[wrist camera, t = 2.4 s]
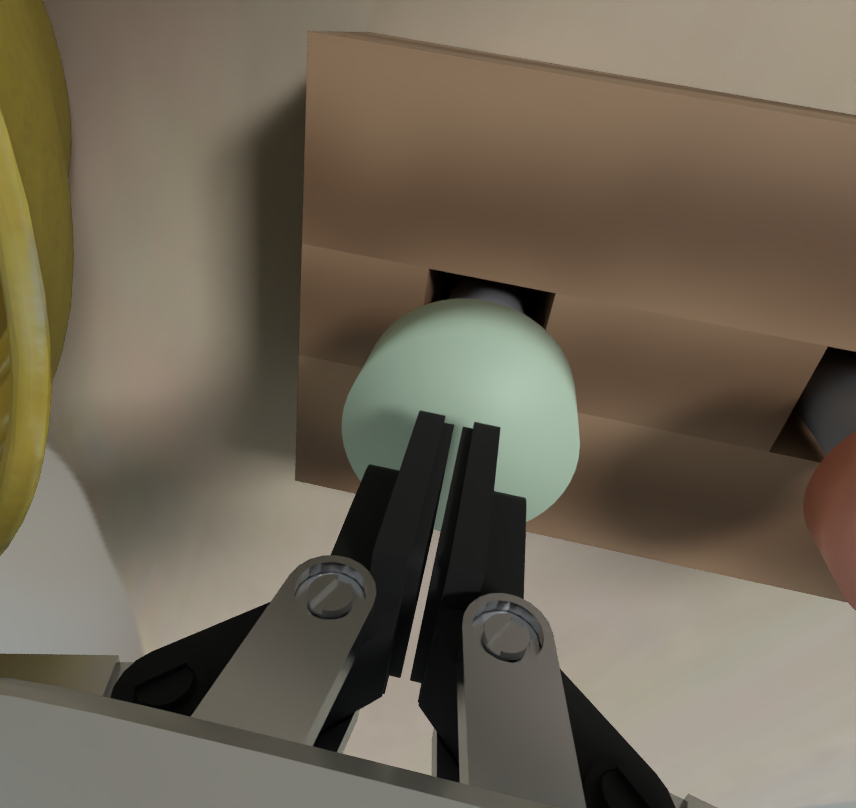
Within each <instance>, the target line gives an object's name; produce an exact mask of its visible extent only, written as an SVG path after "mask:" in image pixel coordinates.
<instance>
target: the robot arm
mask: <svg viewBox="0 0 856 808" xmlns="http://www.w3.org/2000/svg"><path fill="white" fill-rule="evenodd" d="M453 429H454V424H449V423H445V415H440V414H436V413H431V412H426V411H421V410H420V411H419V413H418V416H417V419H416V422H415V425H414V428H413V431H412V434H411V437H410V440H409V443H408V446H407V449H406V452H405V455H404V458H403V461H402V464H401V467H400V470H395V469H390V468H385V467H381V466H376V465H371V464H369V465H368V466H367V469H366V471H365V473H364V475H363V478H362V480H361V483H360V485H359V488H358V490H357V492H356V495H355V497H354V500H353V502H352V505H351V507H350V509H349V512H348V514H347V517H346V519H345V522H344V524H343V527H342V529H341V531H340V534H339V536H338V539H337V541H336V544H335V546H334V548H333V551H332V553H331V555H326V556H320V557H316V558H312V559H309V560H307V561H306V562H304V563H302V564H300V565H299V566H298V567H297V568H296V569H295V570H294V571H293V572H292V573H291V574H290V575H289V576H288V578H287V579H286V581H285V582H284V584H283V585H282V586H281V588H280V589H279V591H278V592H277V594H276V595H275V596H274V598H273V599H272V601H271V602H269V603H267V604H264V605H262V606H260V607H257V608H255V609H252V610H250V611H248V612H245V613H243V614H241V615H238V616H236V617H233V618H231V619H229V620H226V621H224V622H221V623H219V624H217V625H214V626H212V627H209V628H207V629H205V630H202V631H200V632H198V633H195V634H193V635H190V636H188V637H186V638H183V639H181V640H178V641H176V642H174V643H171V644H169V645H167V646H164V647H162V648H159V649H157V650H155V651H152V652H150V653H148V654H147V655H145V656H143V657H141V658H140V659H138V660H136V661H135V662H120V660H119V656H118V655H115V656H114V655H53V654H49V655H48V654H0V808H717V807H715V806H712V805H710V804H708V803H706V802H704V801H702V800H700V799H698V798H696V797H694V796H692V795H690V794H688V795H687V796H686V797H685V799H681V798H679V797H677V796H675V795H673V794H671V793H669V791H668V789H667V788H666V787H665V785H664V784H663V782H662V781H661V780H660V778H659V777H658V776H657V774H656V773H655V772H654V771H653V770H652V769H651V768H650V767H649V765H648V764H647V763H646V762H645V761H644V760H643V759H642V758H641V757H640V756H639V755H638V753H637V752H636V751H635V750H634V749H633V748H632V747H631V746H630V745H629V744H628V742H627V741H626V740H625V739H624V738H623V737H622V736H621V735H620V734H619V733H618V732H617V730H616V729H615V728H614V727H613V726H612V725H611V724H610V723H609V722H608V721H607V720H606V718H605V717H604V716H603V715H602V714H601V713H600V712H599V711H598V710H597V709H596V707H595V706H594V705H593V704H592V703H591V702H590V701H589V700H588V699H587V698H586V697H585V695H584V694H583V693H582V692H581V691H580V690H579V689H578V688H577V687H576V686H575V685H574V683H573V682H572V681H571V680H570V679H569V678H568V677H567V676H566V675H565V674H564V673H563V671H562V670H561V669H560V667H559V662H558V656H557V651H556V646H555V641H554V635H553V632H552V630H551V627H550V624H549V622H548V621H547V619H546V618H545V617H544V615H543V614H542V612H541V611H540V610H538V609H537V608H536V607H535V606H533V605H532V604H531V603H530V602H528V601H526V600H524V568H525V538H526V507H527V503H526V498H524V497H519V496H515V495H510V494H506V493H501V492H496V491H494V486H495V476H496V467H497V458H498V448H499V439H500V429H501V428H500V427H498V426H493V425H488V424H483V423H479V422H474V425H473V428H468V427H463V428H462V432H461V437H460V442H459V447H458V451H457V456H456V461H455V466H454V470H453V475H452V480H451V485H450V490H449V494H448V499H447V504H446V509H445V513H444V518H443V523H442V528H441V533H440V537H439V542H438V547H437V552H436V557H435V562H434V566H433V571H432V576H431V581H430V586H429V591H428V595H427V600H426V605H425V610H424V615H423V620H422V624H421V629H420V634H419V639H418V644H417V649H416V654H415V658H414V663H413V668H412V673H411V678H410V680H411V681H415V682H419V683H421V688H420V694H419V699H418V702H419V707H420V708H421V710H422V711H423V712H424V714H425V715H426V717H427V718H428V720H429V721H430V723H431V724H432V725H433V727H434V730H433V736H432V776H430V775H426V774H422V773H418V772H414V771H410V770H406V769H402V768H398V767H394V766H390V765H386V764H382V763H378V762H374V761H370V760H365V759H361V758H357V757H353V756H349V755H345V754H342V753H343V751H344V749H345V747H346V744H347V742H348V740H349V738H350V735H351V733H352V731H353V729H354V726H355V724H356V722H357V719H358V715H359V711H360V709H361V708H363V707H364V706H366V705H368V704H370V703H371V702H373V701H375V700H377V699H378V698H380V697H382V694H385V690H386V686H387V682H388V678H389V675H390V676H394V677H398V678H400V677H401V673H402V669H403V664H404V660H405V655H406V651H407V646H408V642H409V637H410V633H411V628H412V624H413V619H414V615H415V610H416V606H417V601H418V597H419V592H420V588H421V583H422V579H423V574H424V570H425V565H426V561H427V556H428V552H429V547H430V543H431V538H432V534H433V529H434V524H435V519H436V514H437V509H438V504H439V499H440V494H441V489H442V484H443V479H444V474H445V469H446V464H447V459H448V454H449V449H450V444H451V439H452V434H453Z"/></svg>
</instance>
